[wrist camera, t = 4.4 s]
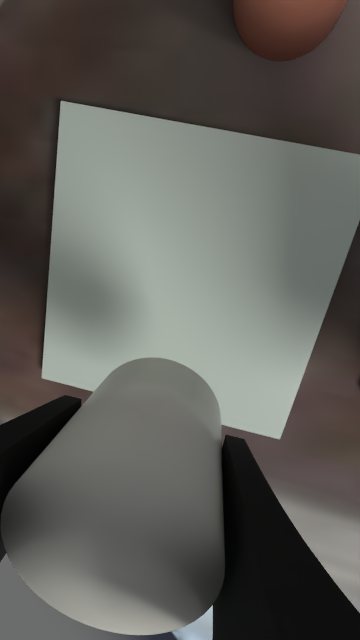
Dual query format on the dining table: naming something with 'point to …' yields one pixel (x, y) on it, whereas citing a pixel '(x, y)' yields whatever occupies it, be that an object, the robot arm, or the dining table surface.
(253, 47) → the pink rounded piece
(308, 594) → the robot arm
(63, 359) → the baseplate
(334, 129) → the dining table surface
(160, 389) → the off-white rounded cylinder
